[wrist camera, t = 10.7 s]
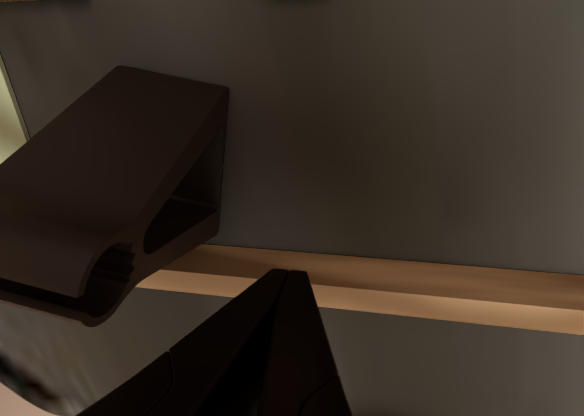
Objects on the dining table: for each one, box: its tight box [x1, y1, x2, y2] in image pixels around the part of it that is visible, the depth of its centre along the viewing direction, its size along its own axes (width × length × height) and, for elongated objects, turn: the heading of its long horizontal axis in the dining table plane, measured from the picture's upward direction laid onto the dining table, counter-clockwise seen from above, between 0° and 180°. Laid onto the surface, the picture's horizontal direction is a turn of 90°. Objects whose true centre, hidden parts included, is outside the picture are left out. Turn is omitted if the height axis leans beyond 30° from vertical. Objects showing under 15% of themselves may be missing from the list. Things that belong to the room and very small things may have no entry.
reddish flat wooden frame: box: [0, 0, 584, 335], centre depth 17 cm, size 26×38×3 cm
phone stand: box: [0, 65, 229, 327], centre depth 16 cm, size 9×6×12 cm, turn 170°
